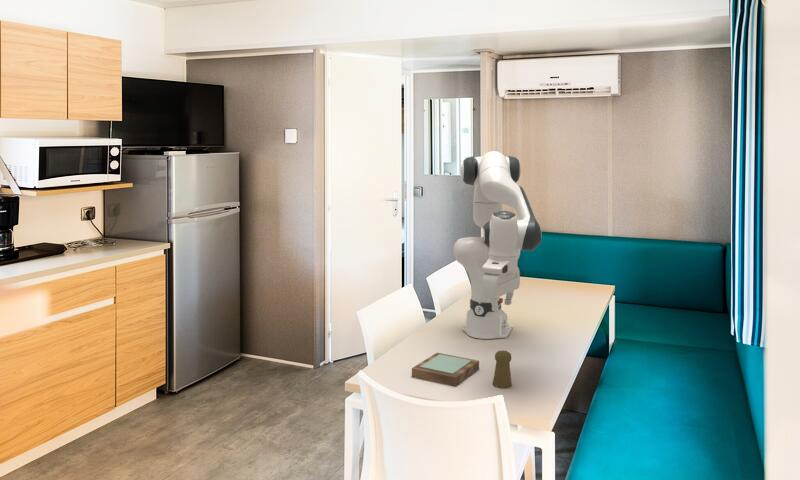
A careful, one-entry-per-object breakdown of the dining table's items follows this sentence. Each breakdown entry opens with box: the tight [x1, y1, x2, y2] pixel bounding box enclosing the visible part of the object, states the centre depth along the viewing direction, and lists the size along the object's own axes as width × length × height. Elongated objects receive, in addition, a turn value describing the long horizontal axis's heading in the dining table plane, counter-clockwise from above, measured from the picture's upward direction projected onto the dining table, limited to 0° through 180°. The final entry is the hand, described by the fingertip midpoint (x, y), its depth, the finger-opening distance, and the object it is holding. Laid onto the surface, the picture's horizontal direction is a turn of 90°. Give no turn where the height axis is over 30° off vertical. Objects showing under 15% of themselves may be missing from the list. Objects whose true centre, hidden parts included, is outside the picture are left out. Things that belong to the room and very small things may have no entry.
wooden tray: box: [411, 352, 480, 387], centre depth 217 cm, size 18×16×3 cm
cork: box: [492, 350, 513, 389], centre depth 206 cm, size 6×6×11 cm
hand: (501, 307), depth 204 cm, fingers open, 8 cm apart
